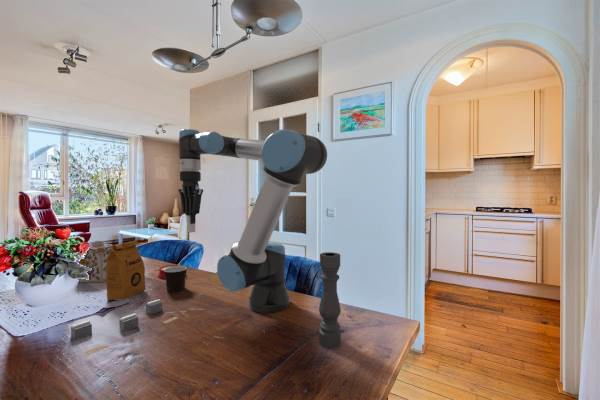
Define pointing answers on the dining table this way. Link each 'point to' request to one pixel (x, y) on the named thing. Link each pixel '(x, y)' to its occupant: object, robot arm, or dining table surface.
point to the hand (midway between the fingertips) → (191, 231)
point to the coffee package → (124, 271)
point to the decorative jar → (96, 261)
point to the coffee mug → (175, 278)
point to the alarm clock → (161, 271)
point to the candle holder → (329, 301)
